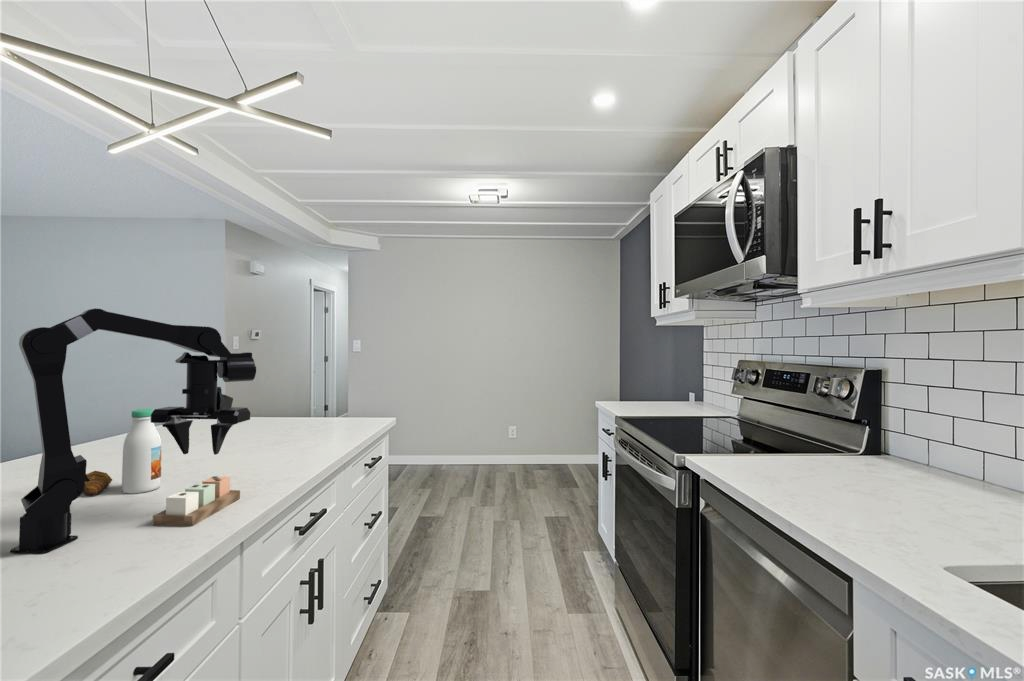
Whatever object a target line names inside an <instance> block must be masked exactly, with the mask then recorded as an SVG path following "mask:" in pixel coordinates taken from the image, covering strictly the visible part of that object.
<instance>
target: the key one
mask: <svg viewBox="0 0 1024 681" xmlns="http://www.w3.org/2000/svg"><path fill="white" fill-rule="evenodd" d="M198 496H199V492H185V491H179V492H177V493H174V494H171V495H170V496H167V497H165V498H166V499H165V510H166V515H187V514H189V513H191V512H193V511H195V510H197V509H198Z"/></svg>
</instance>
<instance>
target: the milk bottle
mask: <svg viewBox="0 0 1024 681" xmlns="http://www.w3.org/2000/svg"><path fill="white" fill-rule="evenodd" d="M153 411H154V409H153V408H142V409H141V408H139V409H134V410H132V411H131V420H132V423H131V426H130V429H129V431H128V433H127V434H126V436H125V439H124V442H123V446H122V462H121V463H122V466H121V471H122V472H121V490H122V492H123V493H124V494H140V493H141V494H142V493H148V492H152V491H154V490H157V489H160V487H161V484H162V440H161V436H160V433H159V431H158V429H157V427H156V425H155V423H151V414H152V412H153Z"/></svg>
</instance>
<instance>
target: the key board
mask: <svg viewBox="0 0 1024 681" xmlns="http://www.w3.org/2000/svg"><path fill="white" fill-rule="evenodd" d="M239 500H241V490H237V489H234V490H232V489H230V492H229V493H227V494H225V495H223V496H221V497H215V500H214V501H212V502H210V503H208V504H206V505H204V506H198V509H197V510H195V511H193V512H191V513H189V514H187V515H166V509H164V510H162V511H159V512H158V513H155V514H154V515H152V526H156V527H157V526H160V527H163V526H165V527H193V526H195V525H197V524H199V523H200V522H202V521H204V520H205V519H207V518H209V517H211V516H213V515H214V514H216V513H218V512H220V511H221V510H223V509H225V508H226V507H228V506H229V505H233V503H235V502H237V501H239Z"/></svg>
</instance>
